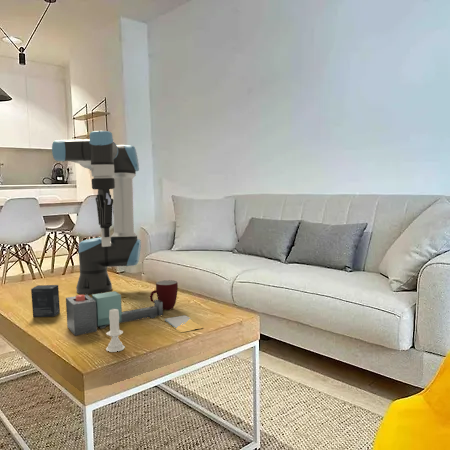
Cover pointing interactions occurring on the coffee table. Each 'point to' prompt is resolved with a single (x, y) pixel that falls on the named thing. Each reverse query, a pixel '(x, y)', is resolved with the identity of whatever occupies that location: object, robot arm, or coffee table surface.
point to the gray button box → (81, 315)
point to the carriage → (106, 306)
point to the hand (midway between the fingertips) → (106, 246)
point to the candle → (114, 332)
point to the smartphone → (177, 320)
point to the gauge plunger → (80, 298)
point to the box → (45, 300)
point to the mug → (166, 293)
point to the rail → (141, 313)
